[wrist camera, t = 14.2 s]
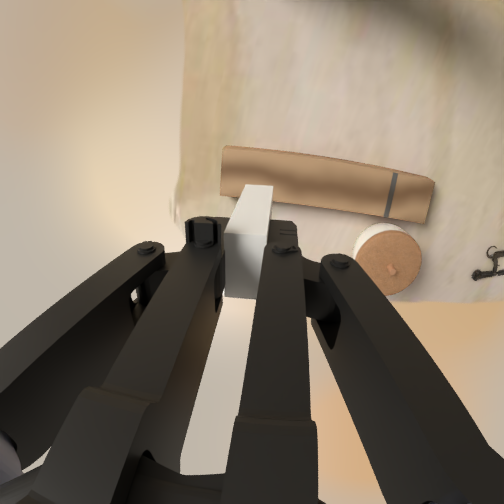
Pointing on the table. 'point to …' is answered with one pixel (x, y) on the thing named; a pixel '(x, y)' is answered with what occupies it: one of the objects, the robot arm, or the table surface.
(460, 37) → the table surface
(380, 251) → the lidded jar
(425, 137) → the table surface
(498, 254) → the hacksaw
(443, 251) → the table surface
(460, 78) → the table surface
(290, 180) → the board
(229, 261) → the robot arm
